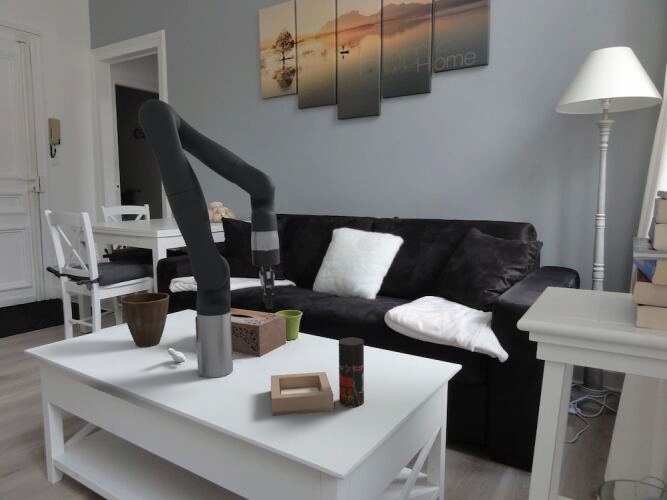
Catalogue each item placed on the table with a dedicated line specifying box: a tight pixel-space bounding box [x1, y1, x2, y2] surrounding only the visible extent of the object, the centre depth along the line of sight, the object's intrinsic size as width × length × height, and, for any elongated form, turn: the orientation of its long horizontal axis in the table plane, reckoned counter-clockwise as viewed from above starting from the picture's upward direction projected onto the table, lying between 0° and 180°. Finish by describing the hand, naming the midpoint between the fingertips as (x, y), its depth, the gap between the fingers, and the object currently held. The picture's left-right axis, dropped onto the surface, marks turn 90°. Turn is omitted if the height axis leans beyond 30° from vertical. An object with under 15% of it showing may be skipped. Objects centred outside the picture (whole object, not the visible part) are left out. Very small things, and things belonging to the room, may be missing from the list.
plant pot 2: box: [274, 309, 303, 341], centre depth 168 cm, size 9×9×9 cm
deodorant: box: [338, 336, 365, 408], centre depth 116 cm, size 6×6×15 cm
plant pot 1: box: [120, 292, 170, 348], centre depth 163 cm, size 15×15×16 cm
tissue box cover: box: [194, 307, 287, 358], centre depth 162 cm, size 26×14×10 cm, turn 62°
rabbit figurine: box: [167, 347, 186, 366], centre depth 144 cm, size 6×4×8 cm
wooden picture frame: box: [270, 371, 334, 416], centre depth 118 cm, size 14×14×4 cm
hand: (268, 305), depth 137 cm, fingers open, 8 cm apart
